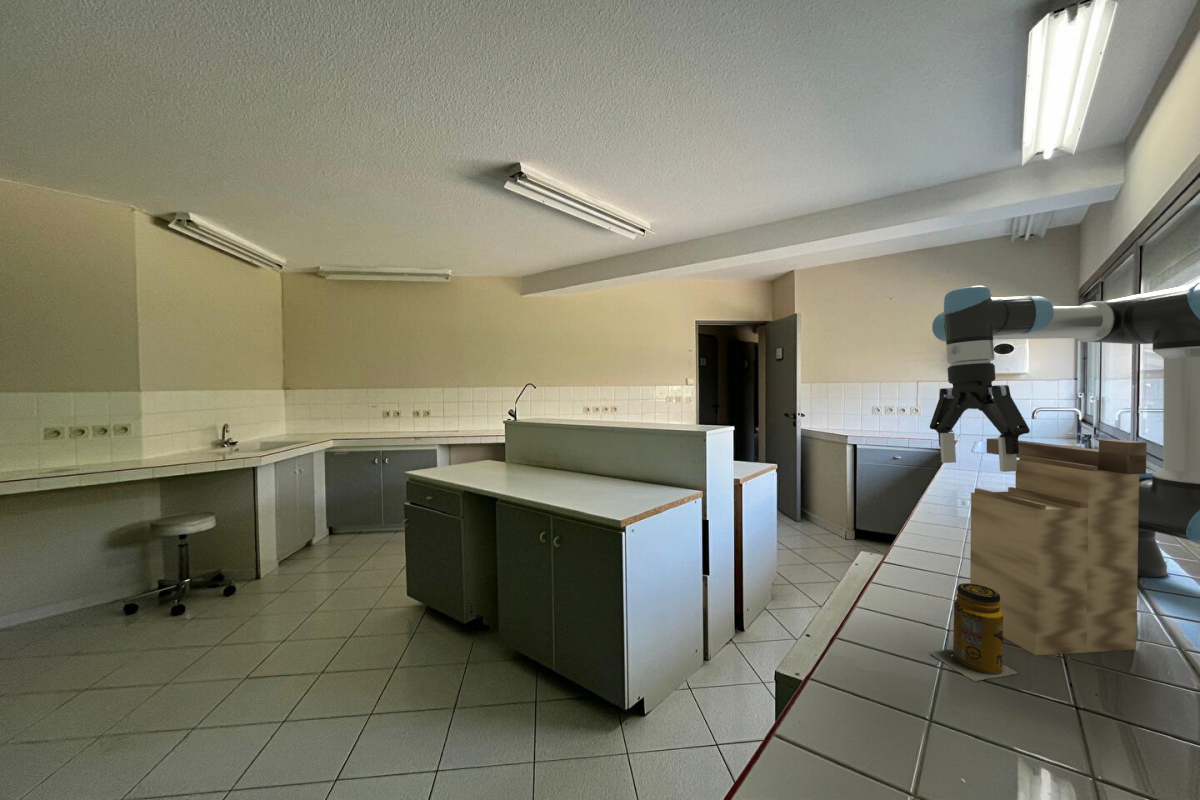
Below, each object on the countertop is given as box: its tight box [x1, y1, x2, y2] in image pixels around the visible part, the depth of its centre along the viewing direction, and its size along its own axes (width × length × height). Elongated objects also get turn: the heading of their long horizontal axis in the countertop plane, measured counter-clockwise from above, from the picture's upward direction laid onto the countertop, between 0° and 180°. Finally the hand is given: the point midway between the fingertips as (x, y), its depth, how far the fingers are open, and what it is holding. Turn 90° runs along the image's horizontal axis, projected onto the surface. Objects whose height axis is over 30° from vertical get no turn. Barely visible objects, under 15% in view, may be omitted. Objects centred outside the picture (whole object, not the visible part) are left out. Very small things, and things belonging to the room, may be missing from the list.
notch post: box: [969, 456, 1139, 656], centre depth 80 cm, size 18×12×31 cm, turn 94°
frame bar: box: [986, 437, 1147, 474], centre depth 82 cm, size 3×24×5 cm, turn 4°
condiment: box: [928, 582, 1019, 682], centre depth 71 cm, size 7×8×12 cm
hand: (976, 467), depth 92 cm, fingers open, 13 cm apart
